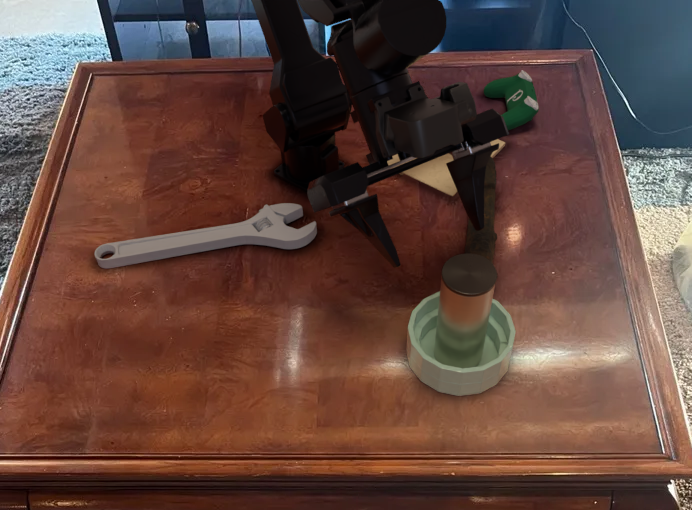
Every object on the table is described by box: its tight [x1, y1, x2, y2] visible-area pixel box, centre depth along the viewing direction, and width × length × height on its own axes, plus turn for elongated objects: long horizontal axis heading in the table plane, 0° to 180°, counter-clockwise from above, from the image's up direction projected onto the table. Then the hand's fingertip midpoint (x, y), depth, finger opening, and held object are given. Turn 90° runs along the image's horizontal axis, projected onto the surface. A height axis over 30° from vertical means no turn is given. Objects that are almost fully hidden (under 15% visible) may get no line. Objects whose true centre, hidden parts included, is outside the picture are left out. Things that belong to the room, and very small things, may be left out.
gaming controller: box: [483, 69, 540, 131], centre depth 104 cm, size 9×4×6 cm
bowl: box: [405, 290, 517, 397], centre depth 80 cm, size 10×10×4 cm
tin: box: [434, 253, 498, 368], centre depth 77 cm, size 5×5×12 cm
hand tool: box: [464, 157, 499, 278], centre depth 90 cm, size 19×4×5 cm, turn 168°
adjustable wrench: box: [94, 202, 318, 269], centre depth 93 cm, size 25×6×2 cm, turn 96°
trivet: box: [387, 138, 506, 198], centre depth 101 cm, size 12×12×1 cm
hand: (439, 248), depth 75 cm, fingers open, 9 cm apart
